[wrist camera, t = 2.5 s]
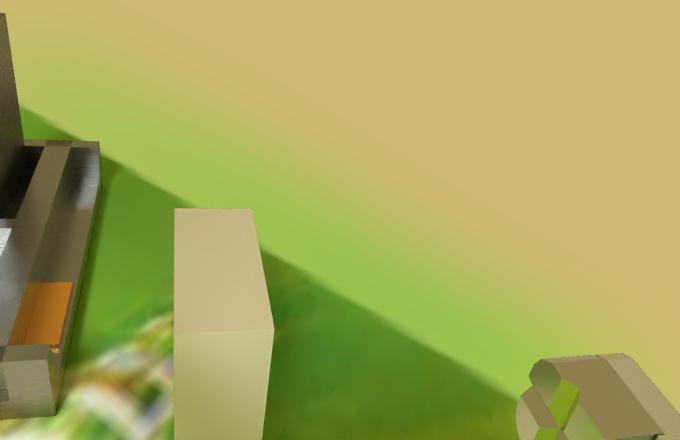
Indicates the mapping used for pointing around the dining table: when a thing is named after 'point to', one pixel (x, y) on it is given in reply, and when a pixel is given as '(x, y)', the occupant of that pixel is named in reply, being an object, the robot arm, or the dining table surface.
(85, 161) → the rack
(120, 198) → the dining table surface
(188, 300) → the beige rectangular block
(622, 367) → the robot arm
